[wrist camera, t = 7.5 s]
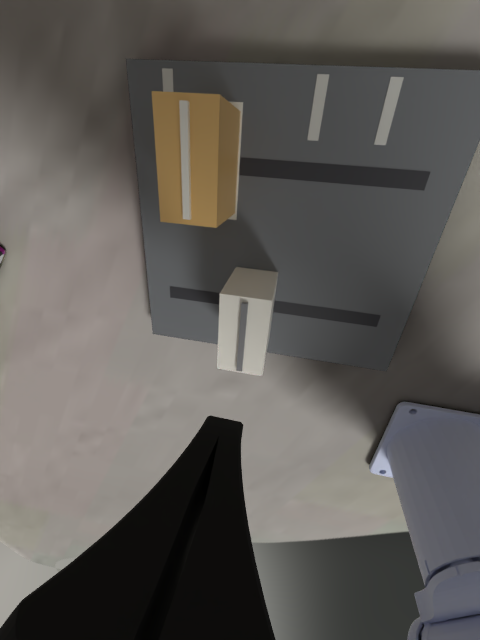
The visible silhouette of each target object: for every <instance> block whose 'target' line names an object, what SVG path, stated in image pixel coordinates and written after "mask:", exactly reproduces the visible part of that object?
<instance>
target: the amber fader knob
mask: <svg viewBox="0 0 480 640" xmlns="http://www.w3.org/2000/svg"><path fill="white" fill-rule="evenodd" d="M152 105H153V119H154V134H155V149H156V164H157V179H158V193H159V208H160V222H167V223H176V224H186V225H195V226H204V227H213V228H217V227H218V226H219V225H221V224H222V223H223V222H225V221H226V220H227V219H228V218H230V217H231V216H232V215H233V214H235V206H236V188H237V169H238V151H239V132H240V114H241V111H239V110H238V109H237V108H236V107H235V106H233V105H232V104H231V103H230V102H229V101H227V100H226V99H225V98H224V97H222V96H221V95H220V94H204V93H183V92H162V91H152Z"/></svg>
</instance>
